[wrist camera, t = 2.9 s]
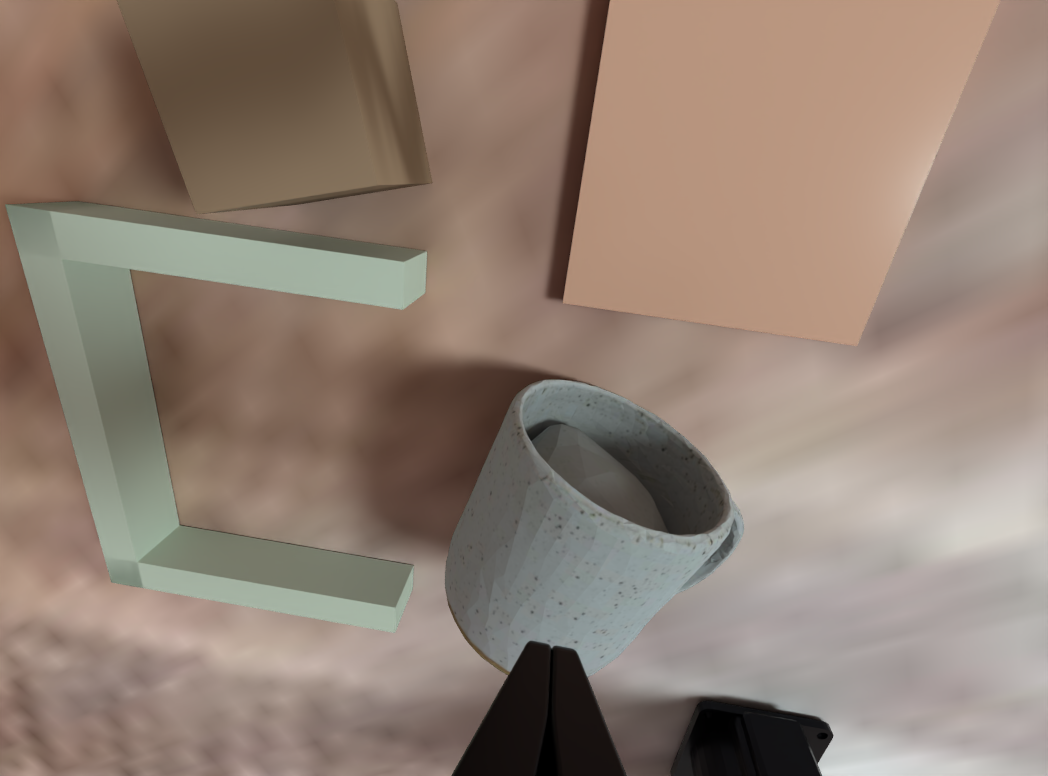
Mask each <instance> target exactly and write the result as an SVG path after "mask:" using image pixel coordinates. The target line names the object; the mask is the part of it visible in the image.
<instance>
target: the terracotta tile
mask: <svg viewBox="0 0 1048 776" xmlns="http://www.w3.org/2000/svg"><path fill="white" fill-rule="evenodd" d="M999 3H1000V0H610V3H609V9H608V16H607V22H606V28H605V35H604V41H603V48H602V54H601V60H600V67H599V73H598V79H597V86H596V92H595V99H594V105H593V111H592V118H591V124H590V131H589V137H588V143H587V150H586V156H585V162H584V169H583V175H582V182H581V188H580V194H579V201H578V207H577V213H576V220H575V226H574V233H573V239H572V245H571V252H570V258H569V264H568V271H567V277H566V284H565V290H564V296H563V303H565V304H572V305H579V306H586V307H592V308H599V309H606V310H613V311H620V312H627V313H634V314H640V315H647V316H654V317H661V318H668V319H675V320H682V321H688V322H695V323H702V324H709V325H716V326H723V327H730V328H736V329H743V330H750V331H757V332H764V333H771V334H778V335H784V336H791V337H798V338H805V339H812V340H819V341H826V342H832V343H839V344H846V345H853V346H857V345H858V342H859V340H860V337H861V335H862V333H863V330H864V328H865V325H866V323H867V321H868V318H869V316H870V313H871V311H872V309H873V306H874V304H875V301H876V299H877V296H878V294H879V292H880V289H881V287H882V284H883V282H884V280H885V277H886V275H887V272H888V270H889V268H890V265H891V263H892V260H893V258H894V256H895V253H896V251H897V248H898V246H899V243H900V241H901V239H902V236H903V234H904V231H905V229H906V227H907V224H908V222H909V219H910V217H911V215H912V212H913V210H914V207H915V205H916V203H917V200H918V198H919V195H920V193H921V191H922V188H923V186H924V183H925V181H926V178H927V176H928V174H929V171H930V169H931V166H932V164H933V162H934V159H935V157H936V154H937V152H938V150H939V147H940V145H941V142H942V140H943V138H944V135H945V133H946V130H947V128H948V125H949V123H950V121H951V118H952V116H953V113H954V111H955V109H956V106H957V104H958V101H959V99H960V97H961V94H962V92H963V89H964V87H965V85H966V82H967V80H968V77H969V75H970V72H971V70H972V68H973V65H974V63H975V60H976V58H977V56H978V53H979V51H980V48H981V46H982V44H983V41H984V39H985V36H986V34H987V32H988V29H989V27H990V24H991V22H992V19H993V17H994V15H995V12H996V10H997V7H998V5H999Z"/></svg>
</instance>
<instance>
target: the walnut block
mask: <svg viewBox="0 0 1048 776" xmlns="http://www.w3.org/2000/svg"><path fill="white" fill-rule="evenodd" d="M117 2H118V5H119V8H120V10H121V13H122V16H123V18H124V21H125V24H126V26H127V29H128V32H129V34H130V37H131V40H132V42H133V45H134V48H135V51H136V53H137V56H138V59H139V61H140V64H141V67H142V69H143V72H144V75H145V77H146V80H147V83H148V86H149V88H150V91H151V94H152V96H153V99H154V102H155V104H156V107H157V110H158V112H159V115H160V118H161V121H162V123H163V126H164V129H165V131H166V134H167V137H168V139H169V142H170V145H171V147H172V150H173V153H174V155H175V158H176V161H177V164H178V166H179V169H180V172H181V174H182V177H183V180H184V182H185V185H186V188H187V190H188V193H189V196H190V199H191V201H192V204H193V207H194V209H195V212H196V214H205V213H216V212H226V211H236V210H247V209H257V208H268V207H278V206H288V205H297V204H304V203H310V202H316V201H323V200H329V199H335V198H342V197H348V196H354V195H361V194H367V193H373V192H380V191H386V190H392V189H399V188H405V187H411V186H417V185H424V184H430V183H432V179H431V174H430V169H429V164H428V158H427V153H426V148H425V143H424V138H423V133H422V128H421V123H420V118H419V112H418V107H417V102H416V97H415V92H414V87H413V82H412V77H411V71H410V66H409V61H408V56H407V51H406V46H405V41H404V36H403V31H402V25H401V20H400V15H399V10H398V5H397V3H396V2H395V1H394V0H117Z"/></svg>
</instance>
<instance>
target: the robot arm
mask: <svg viewBox="0 0 1048 776" xmlns="http://www.w3.org/2000/svg"><path fill="white" fill-rule="evenodd" d="M832 738H833V733H832V731H831V729H830V727H829V724H827V723H826V722H823V721H818V720H813V719H807V718H802V717H796V716H790V715H785V714H779V713H774V712H768V711H763V710H757V709H751V708H746V707H740V706H735V705H729V704H723V703H718V702H712V701H703V702H700V703H699V704H698V705H697V707H696V710H695V712H694V714H693V717H692V719H691V722H690V724H689V727H688V729H687V732H686V734H685V737H684V739H683V742H682V744H681V747H680V749H679V752H678V754H677V757H676V759H675V762H674V764H673V767H672V769H671V772H670V775H671V776H822V774H821V772H820V769H819V767H818V762H819V760H820V759H821V757H822V755H823V753H824V752H825V750H826V748H827V747H828V745H829V743H830V742H831V740H832ZM452 776H627V775H626V773H625V770H624V768H623V765H622V763H621V760H620V758H619V755H618V753H617V750H616V748H615V745H614V743H613V740H612V738H611V735H610V733H609V730H608V728H607V725H606V723H605V720H604V718H603V715H602V713H601V710H600V708H599V705H598V703H597V700H596V698H595V695H594V693H593V690H592V687H591V685H590V682H589V680H588V677H587V675H586V672H585V670H584V667H583V665H582V662H581V660H580V657H579V655H578V653H577V651H576V650H575V649H572V648H567V647H562V646H557V645H556V646H553V647H552V648H551V646H550V645H549V644H547V643H542V642H537V641H529V642H527V644H526V645H525V647H524V649H523V650H522V652H521V654H520V656H519V657H518V659H517V661H516V663H515V665H514V666H513V668H512V670H511V672H510V673H509V675H508V677H507V679H506V680H505V682H504V684H503V686H502V687H501V689H500V691H499V693H498V694H497V696H496V698H495V700H494V702H493V703H492V705H491V707H490V709H489V710H488V712H487V714H486V716H485V717H484V719H483V721H482V723H481V724H480V726H479V728H478V730H477V731H476V733H475V735H474V737H473V739H472V740H471V742H470V744H469V746H468V747H467V749H466V751H465V753H464V754H463V756H462V758H461V760H460V761H459V763H458V765H457V767H456V768H455V770H454V772H453V774H452Z"/></svg>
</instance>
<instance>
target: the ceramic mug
mask: <svg viewBox="0 0 1048 776" xmlns="http://www.w3.org/2000/svg"><path fill="white" fill-rule="evenodd" d="M743 532H744V523H743V518H742V515H741V513H740V510H739V508H738V507H737V506H736V504H735V503H734V502H733V500H732V499H731V496H730V492H729V490H728V489H727V487H726V485H725V484H724V482H723V480H722V479H721V477H720V476H719V474H718V473H717V471H716V470H715V469H714V468H713V467H712V465H711V464H710V462H709V461H708V460H707V458H706V457H705V456H704V455H703V454H702V453H701V452H700V451H699V450H698V449H697V448H696V447H694V446H693V445H692V444H691V443H690V442H689V441H688V440H687V439H686V438H685V437H684V436H683V435H681V434H680V433H678V432H677V431H676V430H675V429H674V428H672V427H671V426H670V425H669V424H667V423H666V422H665V421H663V420H662V419H660V418H659V417H658V416H656V415H654V414H653V413H651V412H649V411H647V410H645V409H643V408H642V407H640V406H638V405H636V404H634V403H632V402H631V401H629V400H627V399H625V398H624V397H621V396H619V395H616V394H614V393H612V392H609V391H607V390H604V389H601V388H599V387H596V386H591V385H588V384H586V383H582V382H578V381H567V380H559V379H547V380H541V381H538V382H535V383H533V384H530V385H528V386H527V387H525V388H524V389H523V390H521V391H520V392H519V393H517V395H516V396H515V398H514V399H513V401H512V402H511V405H510V407H509V409H508V411H507V413H506V416H505V418H504V421H503V423H502V426H501V428H500V430H499V432H498V434H497V437H496V439H495V441H494V443H493V445H492V448H491V450H490V452H489V454H488V457H487V459H486V461H485V463H484V466H483V468H482V470H481V473H480V475H479V477H478V480H477V482H476V484H475V487H474V489H473V492H472V494H471V496H470V498H469V500H468V503H467V505H466V507H465V509H464V511H463V514H462V516H461V518H460V520H459V522H458V525H457V527H456V529H455V531H454V534H453V536H452V539H451V544H450V548H449V553H448V557H447V561H446V571H445V589H446V594H447V600H448V606H449V608H450V610H451V613H452V615H453V618H454V620H455V622H456V624H457V626H458V628H459V629H460V631H461V633H462V634H463V636H464V638H465V639H466V641H467V642H468V643H469V644H470V645H471V646H472V647H473V649H474V650H475V651H476V652H477V653H478V654H479V655H480V656H481V657H482V658H483V659H485V660H486V661H487V662H489V663H490V664H491V665H493V666H494V667H496V668H497V669H498V670H500V671H501V672H503V673H505V674H507V675H509V673H510V672H511V670H512V668H513V666H514V665H515V663H516V661H517V659H518V657H519V656H520V654H521V652H522V650H523V649H524V647H525V645H526V644H527V642H529V641H537V642H542V643H547V644H549V645H550V646H551V648H552V647H553V646H556V645H557V646H562V647H567V648H572V649H575V650H576V651H577V653H578V655H579V657H580V660H581V662H582V665H583V667H584V670H585V672H586V675H587V677H589V676H591V675H593V674H595V673H596V672H597V671H599V670H600V669H602V668H603V667H604V666H606V665H607V664H608V663H610V662H611V661H613V660H614V659H615V658H617V657H618V656H619V655H620V654H621V653H622V652H623V651H624V649H625V648H626V647H627V646H628V645H629V644H630V643H631V642H632V641H633V640H634V639H635V638H636V636H637V635H638V634H639V632H640V631H641V630H642V628H643V627H644V626H645V625H646V624H647V623H648V622H649V620H650V619H651V618H652V617H653V616H654V615H655V614H656V613H657V612H658V611H659V610H660V609H661V608H662V607H663V606H664V605H665V604H666V603H667V602H668V601H669V600H670V599H671V598H672V597H673V596H674V595H675V594H677V593H680V592H682V591H684V590H686V589H688V588H690V587H692V586H694V585H695V584H697V583H699V582H700V581H702V580H703V579H705V578H706V577H708V576H709V575H710V574H712V573H713V572H714V571H715V570H716V569H717V568H718V567H719V566H721V564H722V563H723V562H724V561H725V560H726V559H727V558H728V557H729V556H730V555H731V554H732V553H733V551H734V550H735V548H736V547H737V545H738V543H739V541H740V540H741V537H742V535H743Z"/></svg>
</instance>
